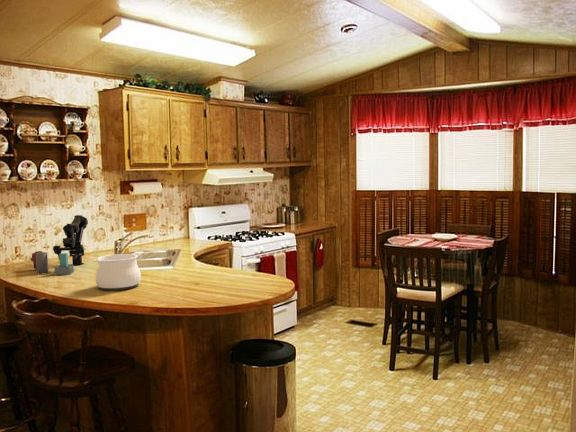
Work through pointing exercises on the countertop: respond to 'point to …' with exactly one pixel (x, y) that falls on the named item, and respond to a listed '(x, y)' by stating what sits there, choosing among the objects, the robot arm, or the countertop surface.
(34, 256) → the mechanical component
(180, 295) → the countertop surface
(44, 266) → the round bit
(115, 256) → the pot
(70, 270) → the block
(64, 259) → the square bit
